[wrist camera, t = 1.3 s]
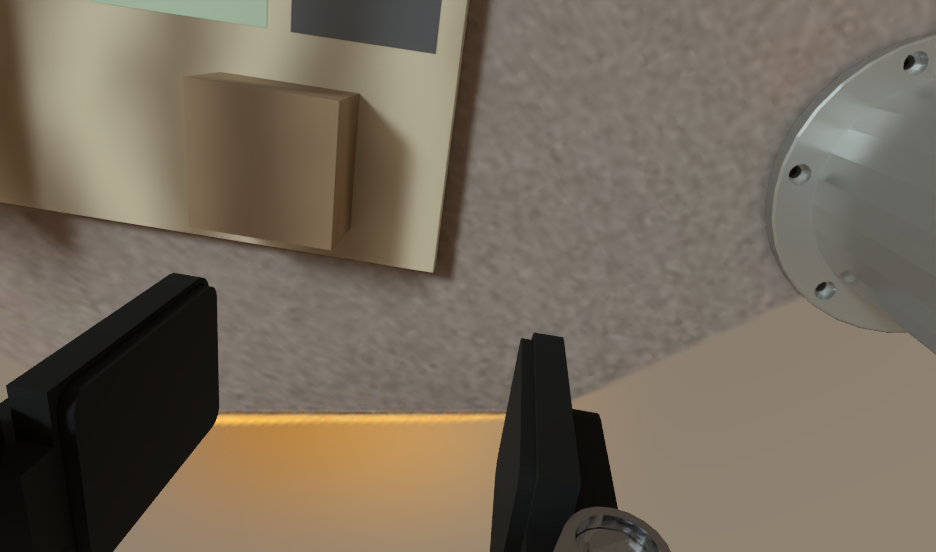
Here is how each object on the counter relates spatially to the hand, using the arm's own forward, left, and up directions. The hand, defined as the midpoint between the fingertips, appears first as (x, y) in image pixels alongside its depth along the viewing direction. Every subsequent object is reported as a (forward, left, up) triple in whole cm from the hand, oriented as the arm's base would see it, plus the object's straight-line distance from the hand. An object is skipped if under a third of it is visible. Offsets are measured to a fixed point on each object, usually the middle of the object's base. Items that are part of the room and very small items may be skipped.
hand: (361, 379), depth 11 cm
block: (+8, 0, -17) cm, 18 cm away
